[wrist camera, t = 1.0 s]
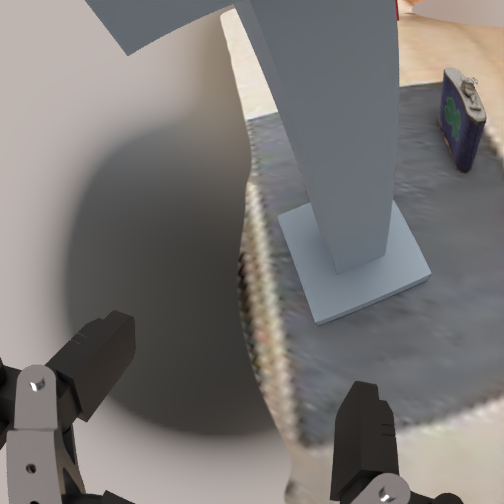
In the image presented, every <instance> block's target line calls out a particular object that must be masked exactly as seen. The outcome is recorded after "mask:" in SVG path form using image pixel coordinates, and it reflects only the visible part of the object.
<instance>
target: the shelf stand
mask: <svg viewBox="0 0 504 504" xmlns="http://www.w3.org/2000/svg"><path fill="white" fill-rule="evenodd" d="M85 1H86V2H87V4H88V5H89V6H90V8H91V9H92V10H93V11H94V13H95V14H96V15H97V17H98V18H99V19H100V21H101V22H102V23H103V24H104V26H105V27H106V28H107V30H108V31H109V32H110V34H111V35H112V36H113V37H114V39H115V40H116V41H117V43H118V44H119V45H120V46H121V48H122V49H123V50H124V52H125V53H126V55H127V56H129V55H131V54H132V53H134V52H136V51H137V50H139V49H141V48H142V47H144V46H146V45H148V44H150V43H151V42H153V41H155V40H157V39H159V38H160V37H162V36H164V35H166V34H168V33H170V32H172V31H174V30H176V29H178V28H180V27H182V26H184V25H186V24H188V23H190V22H192V21H194V20H196V19H199V18H201V17H203V16H205V15H208V14H210V13H212V12H215V11H217V10H219V9H222V8H224V7H226V6H229V5H232V4H234V6H235V8H236V10H237V13H238V15H239V17H240V19H241V22H242V24H243V26H244V28H245V31H246V33H247V35H248V38H249V40H250V42H251V45H252V47H253V49H254V52H255V54H256V56H257V59H258V61H259V64H260V66H261V69H262V71H263V73H264V76H265V78H266V81H267V83H268V86H269V88H270V91H271V94H272V96H273V99H274V101H275V104H276V106H277V109H278V112H279V114H280V117H281V120H282V122H283V125H284V128H285V131H286V133H287V136H288V139H289V142H290V144H291V147H292V150H293V153H294V156H295V158H296V161H297V164H298V167H299V170H300V173H301V176H302V179H303V182H304V185H305V188H306V191H307V194H308V197H309V200H310V202H309V203H307V204H304V205H302V206H300V207H297V208H295V209H292V210H290V211H287V212H285V213H283V214H280V215H278V216H277V218H278V221H279V223H280V226H281V229H282V231H283V234H284V237H285V240H286V242H287V245H288V248H289V250H290V253H291V256H292V259H293V261H294V264H295V267H296V270H297V273H298V275H299V278H300V281H301V284H302V287H303V289H304V292H305V295H306V298H307V301H308V304H309V307H310V309H311V312H312V315H313V318H314V321H315V323H316V324H317V326H319V325H321V324H324V323H327V322H329V321H332V320H335V319H337V318H340V317H342V316H345V315H347V314H350V313H352V312H355V311H357V310H360V309H362V308H365V307H367V306H369V305H372V304H374V303H376V302H379V301H381V300H384V299H386V298H388V297H390V296H393V295H395V294H397V293H400V292H402V291H404V290H406V289H409V288H411V287H413V286H415V285H417V284H419V283H422V282H424V281H426V280H428V279H429V277H430V275H431V274H432V273H431V271H430V269H429V267H428V265H427V262H426V260H425V258H424V256H423V254H422V252H421V250H420V248H419V246H418V244H417V242H416V240H415V238H414V236H413V234H412V232H411V231H410V229H409V227H408V225H407V223H406V221H405V219H404V217H403V216H402V214H401V212H400V210H399V208H398V207H397V205H396V203H395V201H394V200H393V193H394V183H395V172H396V160H397V145H398V125H399V48H398V29H397V15H396V4H395V0H85Z"/></svg>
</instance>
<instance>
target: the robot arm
mask: <svg viewBox="0 0 504 504" xmlns="http://www.w3.org/2000/svg"><path fill="white" fill-rule="evenodd" d="M135 349H136V342H135V320H134V317H132V316H130V315H127V314H124V313H122V312H119V311H117V310H113V311H112V312H111V313H110V314H109V315H108V316H107V317H106V318H105V319H104V320H102V319H100V318H98V319H96V320H94V321H92V322H89V323H88V324H86V325H85V326H84V327H83V328H82V329H81V330H80V331H79V332H78V334H76V335H75V336H74V337H73V338H72V339H71V341H68V343H66V344H65V345H64V347H63V348H62V349H60V350H59V351H58V352H57V354H55V356H53V357H52V358H51V359H50V360H49V362H48V363H46V364H45V365H31V366H28V367H26V368H25V369H23V370H19V369H15V368H11V367H8V366H5V365H3V363H2V360H1V358H0V450H1V448H2V447H3V446H4V444H5V443H6V442H7V444H6V450H7V451H6V452H7V453H6V454H7V482H8V497H9V504H135V503H132V502H130V501H128V500H126V499H123V498H121V497H119V496H117V495H115V494H113V493H111V492H109V491H107V490H106V491H105V492H104V494H103V496H102V495H96V494H86V490H85V487H84V483H83V480H82V477H81V475H80V471H79V466H78V460H77V454H76V447H75V439H74V430H73V424H72V423H73V422H74V421H75V419H76V418H77V417H78V418H79V419H81V420H83V421H85V422H88V420H89V419H90V417H91V416H92V415H93V413H94V412H95V411H96V409H97V408H98V406H99V405H100V404H101V402H102V401H103V400H104V398H105V397H106V396H107V394H108V393H109V392H110V390H111V389H112V387H113V386H114V385H115V383H116V382H117V381H118V379H119V378H120V377H121V375H122V374H123V373H124V371H125V370H126V368H127V367H128V366H129V365H130V363H131V362H132V360H133V358H134V354H135ZM395 435H396V434H395V427H394V417H393V412H392V410H391V408H390V407H389V405H388V403H387V401H383V400H379V395H378V387H377V385H376V384H371V383H366V382H360V381H355V382H354V384H353V385H352V387H351V389H350V391H349V392H348V394H347V396H346V398H345V399H344V401H343V403H342V404H341V406H340V408H339V410H338V413H337V416H336V421H335V437H334V454H333V468H332V481H331V492H330V500H333V501H340V504H463V502H462V500H461V499H460V498H459V497H458V496H456V495H454V494H452V493H443V494H441V495H439V496H437V497H436V498H435V499H432V498H429V497H426V496H423V495H420V494H417V493H414V492H412V491H411V490H410V488H409V485H408V484H407V482H406V481H405V480H404V479H403V478H402V477H400V475H399V466H398V454H397V444H396V437H395Z"/></svg>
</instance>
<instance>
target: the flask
mask: <svg viewBox="0 0 504 504" xmlns="http://www.w3.org/2000/svg"><path fill="white" fill-rule="evenodd" d="M473 79H475V78H474V77H473ZM474 81H475V82H474ZM474 81H473V80H472V79H471V78H465V76H464V75H463V74H462V73H461V72H460V71H459V70H457V69H455V68H450V67H449V68H446V69H445V70H444V78H443V87H442V95H441V103H440V109H439V116H438V125H439V128H440V129H441V130H442V132H443V135H444V139H445V140H444V141H445V142H446V144H447V145H448V146H449V147H450V150H449V151H450V152H451V153H452V159H453V163H454V166H455V168H456V169H457V170H459V171H460V172H461V173H462V172H465V173H468V172H469V171H470V170H471V167H472V164H473V160H474V158H475V155H476V152H477V148H478V145H479V142H480V138H481V136H482V132H483V128H484V125H485V123H486V114H485V111H484V107H483V105H482V102H481V100H480V98H479V96H478V94H477V91H476V89H475V87H474V86H473V85H474V83H476V84H478V80H476V79H475V80H474Z"/></svg>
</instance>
